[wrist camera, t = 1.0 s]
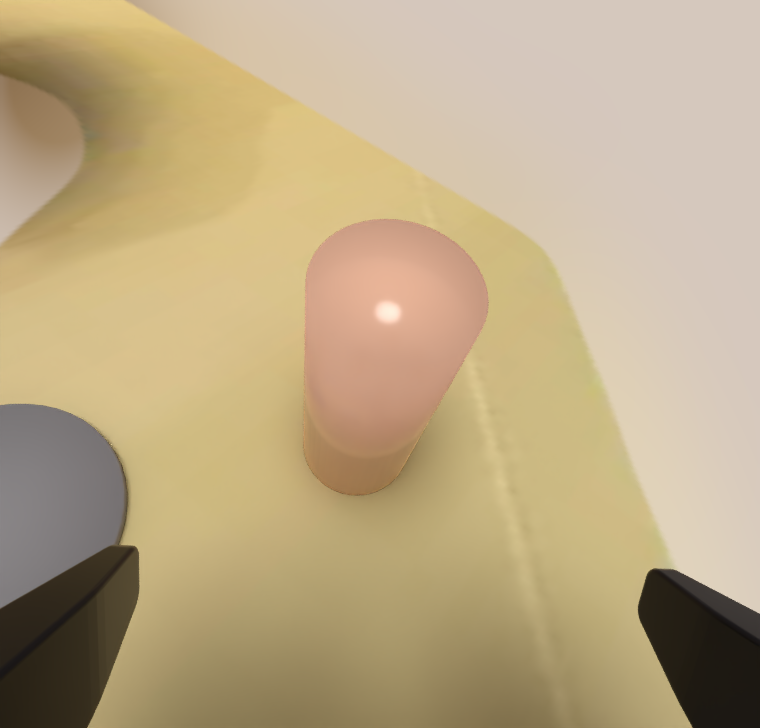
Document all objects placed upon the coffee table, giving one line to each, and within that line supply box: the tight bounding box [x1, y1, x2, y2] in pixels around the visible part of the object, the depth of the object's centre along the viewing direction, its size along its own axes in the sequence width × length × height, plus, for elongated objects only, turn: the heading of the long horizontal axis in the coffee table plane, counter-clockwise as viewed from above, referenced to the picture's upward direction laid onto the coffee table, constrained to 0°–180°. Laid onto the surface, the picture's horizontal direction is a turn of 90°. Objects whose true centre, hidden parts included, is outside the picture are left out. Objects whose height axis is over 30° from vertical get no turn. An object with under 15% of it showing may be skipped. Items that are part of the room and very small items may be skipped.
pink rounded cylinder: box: [303, 219, 489, 495], centre depth 19 cm, size 5×5×12 cm
